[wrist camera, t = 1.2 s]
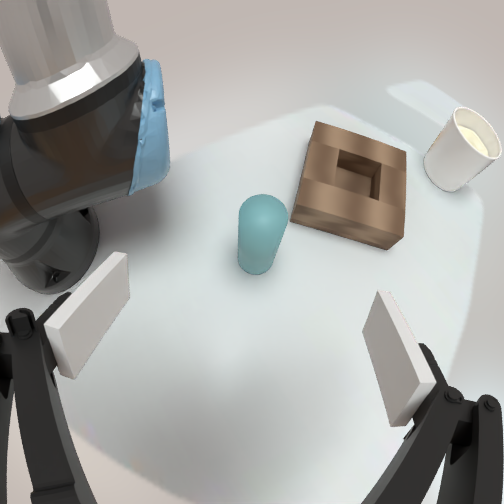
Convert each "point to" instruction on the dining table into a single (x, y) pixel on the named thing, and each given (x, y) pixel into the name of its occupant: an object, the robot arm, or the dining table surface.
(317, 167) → the walnut block
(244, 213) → the teal peg
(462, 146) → the candle holder
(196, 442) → the dining table surface
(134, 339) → the dining table surface
